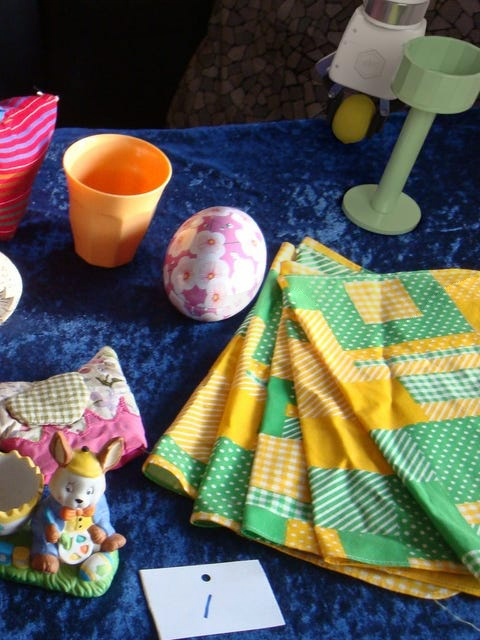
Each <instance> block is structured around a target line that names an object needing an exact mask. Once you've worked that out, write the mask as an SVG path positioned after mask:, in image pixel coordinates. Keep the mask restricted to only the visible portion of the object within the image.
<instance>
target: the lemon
mask: <svg viewBox="0 0 480 640" xmlns="http://www.w3.org/2000/svg"><path fill="white" fill-rule="evenodd" d="M375 114H376V106H375V104H374V102H373V100H372V99H371V98H369V97H368V96H367V95H366V94H365V93H360V94H352V95H350V96H348V97H346V98H345V99H343V100H342V103H341V104H340V105H339V107H338V108H337V110H336V112H335V115H334V118H333V121H332V122H331V124H332V132H333V134H334V136H335V137H336V138H337V139H338V140H339V141H341V142H342V143H343V144H345V145H348V144H354V143H358V142H360V141H363V140H364V138H367V137H366V136H367V133H368V131H369V128H370V125H371V123H372V120H373V118H374V115H375Z"/></svg>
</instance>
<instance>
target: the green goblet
mask: <svg viewBox="0 0 480 640" xmlns="http://www.w3.org/2000/svg"><path fill="white" fill-rule="evenodd" d="M390 88H391V90H392V92H393V94H394V95H395V96H396V97H397V98H398V99H400V100H401V101H403V102H404V103H406V104H408V105H409V107H410V109H409V111H408V114H407V116H406V118H405V121H404V123H403V125H402V128H401V130H400V132H399V135H398V136H397V139H396V141H395V144H394V147H393V149H392V151H391V154H390V156H389V159H388V161H387V162H386V163H387V164H386V166H385V167H384V170H383V172H382V175H381V177H380V179H379V183H378V184H373V183H372V184H370V183H369V184H368V183H367V184H360V185H356V186H353V187H352V188H350V189H349V190H347V192H346V193H345V194H344V196H343V198H342V201H341V208H342V211H343V213H344V215H345V216H346V217H347V218H348V219H349V220H350V222H352V223H353V224H355V225H356V226H358V227H360V228H362V229H364V230H366V231H369V232H372V233H376V234H379V235H388V236H389V235H390V236H393V235H394V236H395V235H402V234H403V235H404V234H407V233H409V232H411V231H413V230H414V229H415V228H416V227H417V226H418V224H419V222H420V220H421V217H422V213H421V209H420V207H419V204H417V202H416V201H415V200H414V199H413V198H412V197H410V196H409V195H408V194H406V193H404V192H403V190H404V188H405V185H406V183H407V180H408V178H409V177H410V173H411V172H412V169H413V167H414V165H415V163H416V161H417V159H418V156H419V154H420V152H421V149H423V148H422V147H423V145H424V143H425V141H426V139H427V136H428V134H429V132H430V130H431V128H432V125H433V123H434V121H435V119H436V117H437V114H439V115H440V114H442V115H450V114H459V113H463V112H465V111H467V110H470V109H471V108H472V107H473V106H474V104H475V102H476V101H477V99H478V97H479V95H480V47H478V46H476V45H474V44H472V43H470V42H468V41H464V40H461V39H457V38H454V37H451V36H450V37H448V36H443V35H424V36H421V37H417V38H415V39H412V40H409V41H408V42H407V43H406V45H405V46H404V47H403V49H402V52H401V55H400V57H399V60H398V62H397V65H396V67H395V70H394V73H393V75H392V80H391V83H390Z"/></svg>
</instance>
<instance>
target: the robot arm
mask: <svg viewBox="0 0 480 640" xmlns="http://www.w3.org/2000/svg"><path fill="white" fill-rule="evenodd" d="M362 2H363V4H361V5H359V6H358V7H357V8H356V9H355V11H354V12H353V14H352V16H351V18H350V19H349V22H348V24H347V25H346V28H345V30H344V32H343V35H342V37H341V39H340V41H339V44H338V47H337V49H336V50H334V52H332V53H330V54H327V55H326V56H324V57H323V58H321V59H319V60H318V61H317V62H316V63H315V64H314V68H315V69H316V72H317V74H318V75H319V76H320V77H321V78H322V79H321V81H322V83H323V85H324V87H325V89H326V91H327V97H328V101H327V103H326V106H325V109H324V112H323V114H324V115H326V116H325V117H326V118H325V121H324V124H325V125H331V124H332V123H333V118H334V115H335V112H336V110H337V108H338V107H339V105H340V104H341V103H342V102H343V101H344V97H345V90H344V88H345V87H346V88H349V89H351V90H354V91H358V92H360V93H362V94H365V95H369V96H372V97H375V98H378V99H379V108H378V110H377V111H375V115H374V118H373V120H372V123H371V125H370V128H369V131H368V133H367V136H366V137H365V138H366V139H367V140H370V141H371V140H372V139H373V137H374V136H375V135H376V134H381V132H383V129H384V128H385V125H386V122H387V120H388V117H389V115H390V114H393V113H395V112H397V111H399V110H402V109H403V108H404V107H408V106H409V107H410V105H408V104H406V103H404V102H403V101H401V100H400V99H398V98H397V97H396V96H395V95H394V94H393V92H392V90H391V88H390V83H391V80H392V75H393V73H394V70H395V67H396V65H397V62H398V60H399V57H400V55H401V52H402V49H403V47H404V46H405V45H406V43H407V42H408V41H409V40H412V39H415V38H417V37H421V36H426V30H427V29H426V28H427V18H425V15H426V12H427V9H428V7H429V5H430V2H431V0H362Z"/></svg>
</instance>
